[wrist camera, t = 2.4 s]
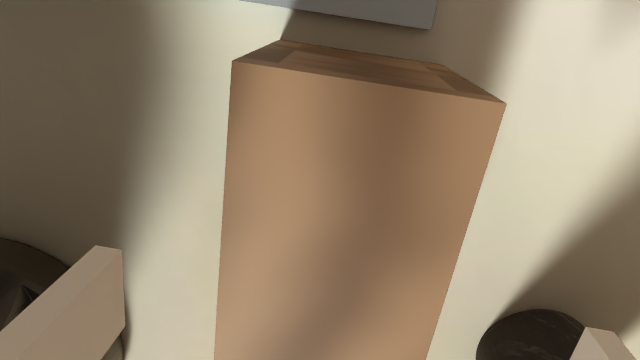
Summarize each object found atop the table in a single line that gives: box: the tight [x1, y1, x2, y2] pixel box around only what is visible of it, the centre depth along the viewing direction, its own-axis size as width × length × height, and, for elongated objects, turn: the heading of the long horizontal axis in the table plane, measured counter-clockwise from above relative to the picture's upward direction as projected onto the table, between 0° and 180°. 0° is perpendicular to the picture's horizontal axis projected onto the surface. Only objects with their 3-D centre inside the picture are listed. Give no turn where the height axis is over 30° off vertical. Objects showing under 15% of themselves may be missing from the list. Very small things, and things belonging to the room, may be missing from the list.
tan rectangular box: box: [214, 40, 506, 360], centre depth 19 cm, size 8×13×9 cm, turn 172°
